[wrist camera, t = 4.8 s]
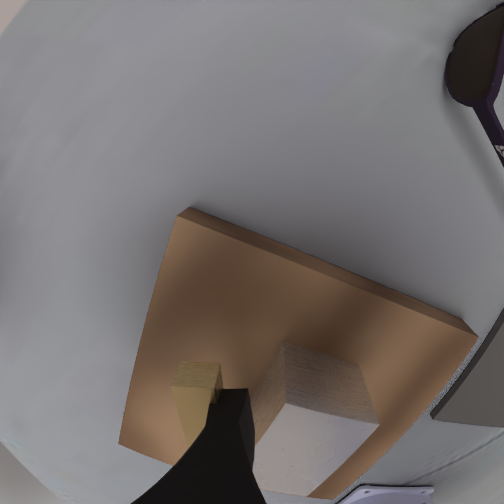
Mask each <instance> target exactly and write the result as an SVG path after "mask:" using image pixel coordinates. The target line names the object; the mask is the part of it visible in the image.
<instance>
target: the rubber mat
mask: <svg viewBox="0 0 504 504" xmlns="http://www.w3.org/2000/svg"><path fill="white" fill-rule="evenodd" d="M430 415H431V417H432V419H433V420H439V421H446V422H453V423H461V424H470V425H479V426H490V427H503V428H504V309H503V311H502V313H501V314H500V316H499V318H498V320H497V321H496V323H495V325H494V326H493V328H492V330H491V331H490V333H489V334H488V336H487V338H486V339H485V341H484V342H483V344H482V345H481V347H480V348H479V350H478V351H477V353H476V354H475V356H474V357H473V359H472V360H471V362H470V363H469V365H468V366H467V367H466V369H465V370H464V372H463V373H462V374H461V376H460V377H459V378H458V380H457V381H456V382H455V384H454V385H453V386H452V388H451V389H450V390H449V391H448V393H447V394H446V395H445V396H444V398H443V399H442V400H441V401H440V403H439V404H438V405H437V406H436V407H435V409H434V410H433V411H432V412H431V413H430Z"/></svg>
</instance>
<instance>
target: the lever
mask: <svg viewBox="0 0 504 504" xmlns="http://www.w3.org/2000/svg"><path fill="white" fill-rule="evenodd" d="M171 388H172V392H173V396H174V399H175V403H176V407H177V410H178V414H179V418H180V421H181V425H182V428H183V431H184V435H185V438H186V441H187V445H188V448H189V447H190V446H191V445H192V443H193V442H194V441H195V440H196V438H197V437H198V435H199V434H200V433H201V431H202V430H203V428H204V427H205V424H206V418H207V413H208V408H209V404H210V403H217V401H218V398H219V395H220V392H221V390H222V389H224V387H223V380H222V372H221V364H220V362H189V361H181V363H180V365H179V368H178V370H177V373H176V375H175V378H174V380H173V383H172V385H171Z"/></svg>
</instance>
